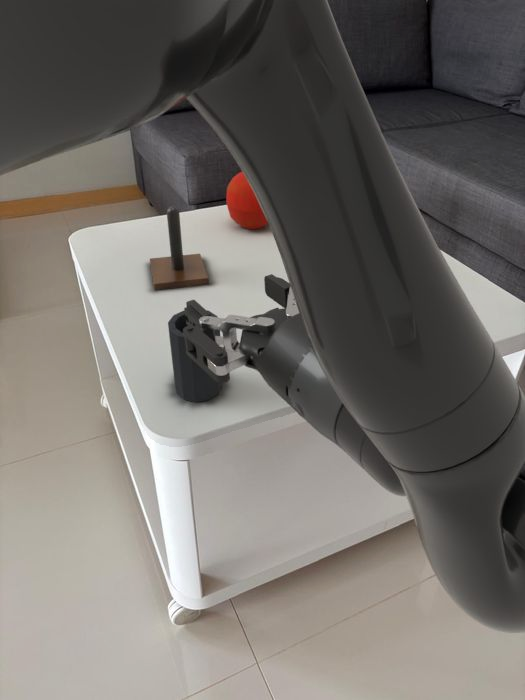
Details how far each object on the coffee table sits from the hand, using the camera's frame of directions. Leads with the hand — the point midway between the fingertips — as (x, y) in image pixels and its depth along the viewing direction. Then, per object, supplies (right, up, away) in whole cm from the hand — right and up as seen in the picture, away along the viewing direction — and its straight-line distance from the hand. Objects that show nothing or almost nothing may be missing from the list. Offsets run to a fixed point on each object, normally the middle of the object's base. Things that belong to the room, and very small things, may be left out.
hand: (230, 296), depth 53 cm
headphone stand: (-11, +8, +41) cm, 44 cm away
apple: (+1, +20, +58) cm, 61 cm away
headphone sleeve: (-5, -10, +18) cm, 21 cm away
